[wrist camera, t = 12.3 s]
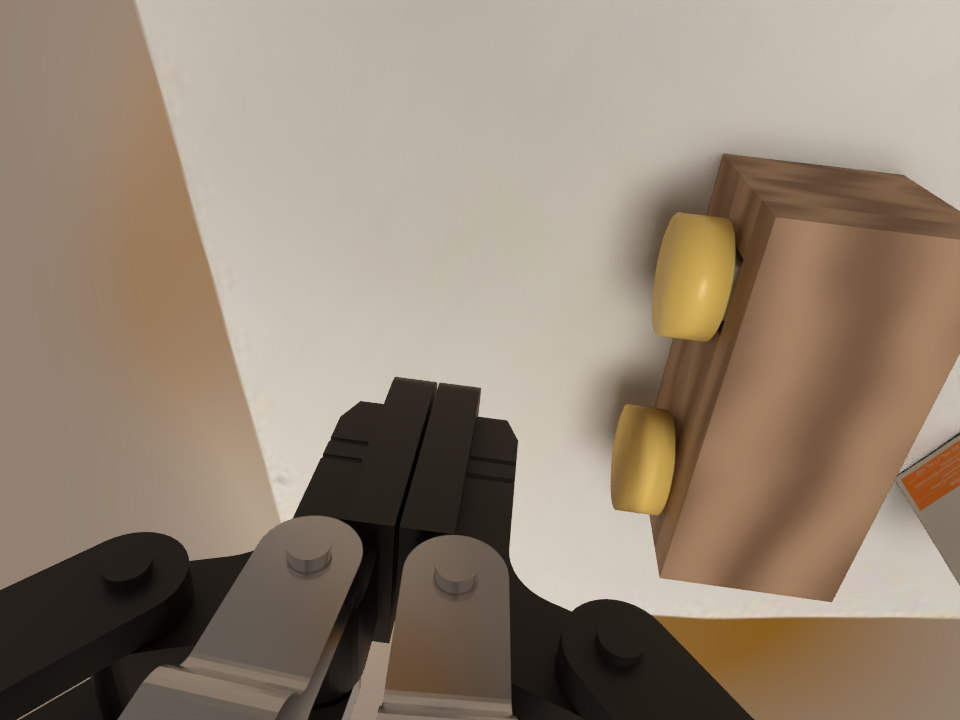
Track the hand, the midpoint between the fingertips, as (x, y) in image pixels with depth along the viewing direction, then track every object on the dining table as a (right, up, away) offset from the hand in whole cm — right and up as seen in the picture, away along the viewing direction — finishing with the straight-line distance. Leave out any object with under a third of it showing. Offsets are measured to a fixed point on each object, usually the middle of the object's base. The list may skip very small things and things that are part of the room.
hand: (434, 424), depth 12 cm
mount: (+17, +3, +32) cm, 37 cm away
